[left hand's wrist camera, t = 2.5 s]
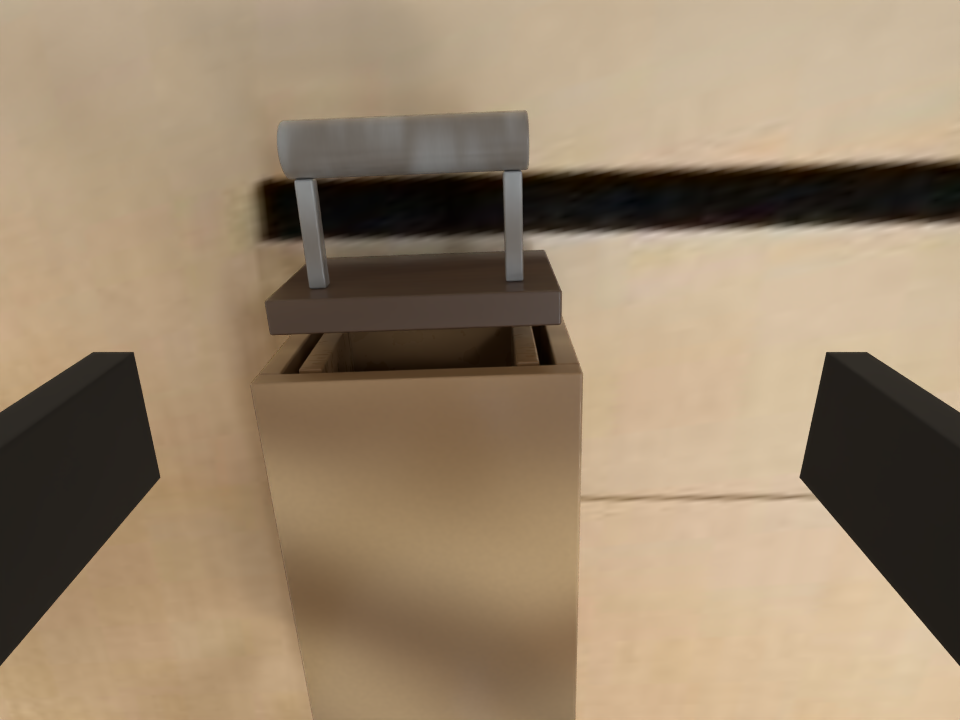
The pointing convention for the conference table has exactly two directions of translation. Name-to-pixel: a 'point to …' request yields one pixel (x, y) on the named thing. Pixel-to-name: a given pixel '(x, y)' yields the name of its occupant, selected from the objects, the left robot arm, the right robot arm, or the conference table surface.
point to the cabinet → (430, 532)
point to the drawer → (413, 278)
